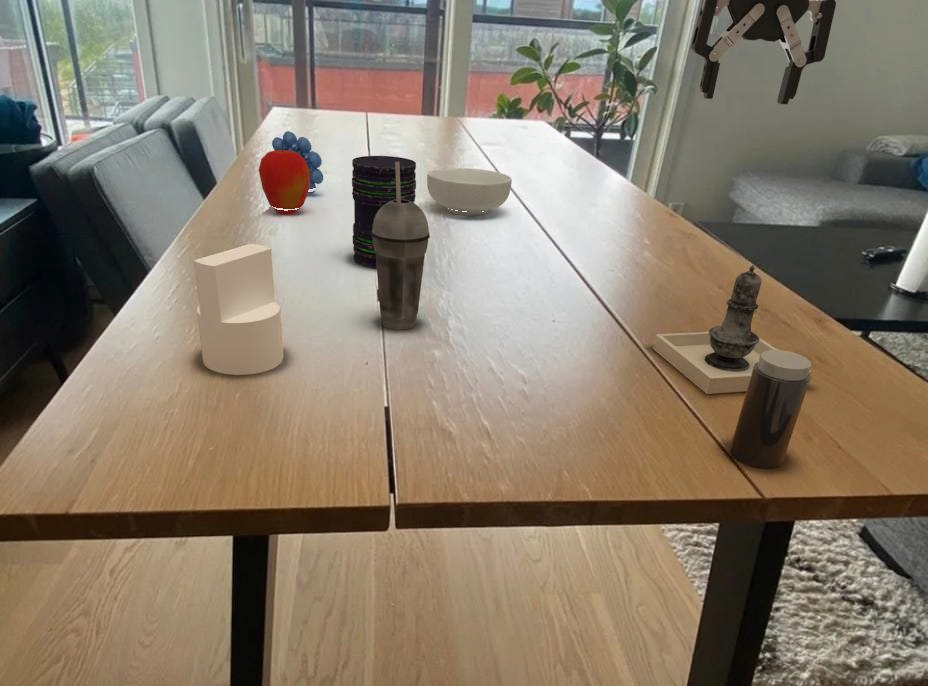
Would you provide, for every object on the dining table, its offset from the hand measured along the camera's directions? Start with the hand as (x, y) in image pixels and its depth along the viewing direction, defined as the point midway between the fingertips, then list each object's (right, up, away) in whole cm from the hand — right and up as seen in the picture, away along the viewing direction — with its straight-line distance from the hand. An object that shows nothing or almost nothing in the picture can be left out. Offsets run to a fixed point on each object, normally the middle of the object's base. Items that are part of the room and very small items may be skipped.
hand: (745, 100), depth 89 cm
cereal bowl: (-31, +10, +66) cm, 74 cm away
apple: (-65, +7, +58) cm, 88 cm away
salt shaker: (0, -30, +5) cm, 30 cm away
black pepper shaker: (-4, -42, -14) cm, 44 cm away
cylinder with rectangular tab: (-58, -30, -1) cm, 66 cm away
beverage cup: (-41, -24, +11) cm, 49 cm away
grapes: (-66, +15, +71) cm, 98 cm away
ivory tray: (-1, -30, +5) cm, 31 cm away
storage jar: (-45, -9, +35) cm, 58 cm away
